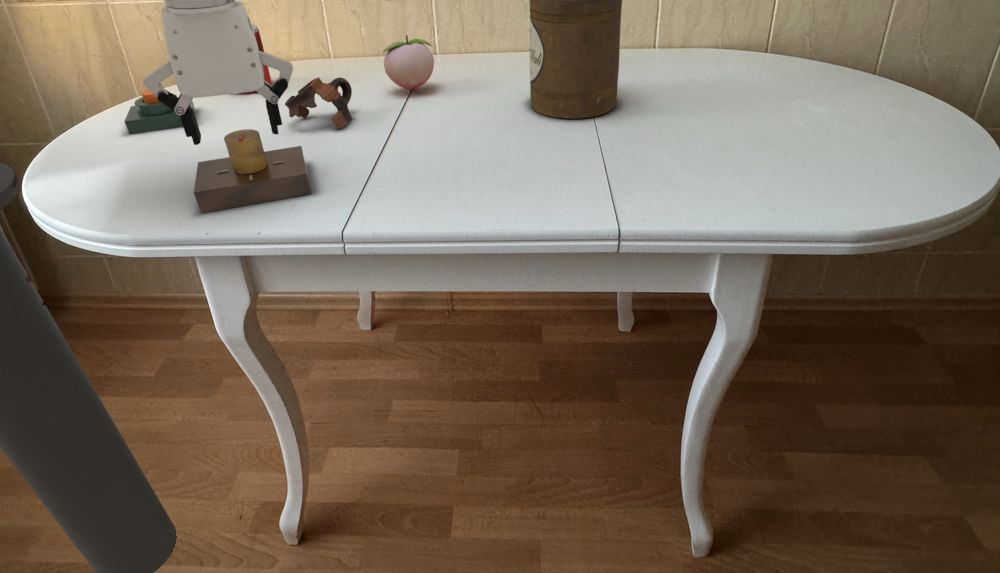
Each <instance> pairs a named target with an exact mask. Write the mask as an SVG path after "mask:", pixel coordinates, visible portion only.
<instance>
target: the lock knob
mask: <svg viewBox="0 0 1000 573" xmlns="http://www.w3.org/2000/svg"><path fill="white" fill-rule="evenodd" d="M223 141H224V144H225V147H226V150H227V153H228V157H230V160H231V163H232V166H233V170H234V171H235V172H236V173H239V174H251V173H255V172H259V171H261V170H263V169H265V168H266V167H267V165H268V164H267V160H266V156H265V153H264V152H265V150H264V146H263V142H262V138H261V135H260V132H259V130H256V129H250V128H249V129H238V130H234V131H232V132H230V133H227V134H226V135H225V136H224V137H223Z"/></svg>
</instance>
